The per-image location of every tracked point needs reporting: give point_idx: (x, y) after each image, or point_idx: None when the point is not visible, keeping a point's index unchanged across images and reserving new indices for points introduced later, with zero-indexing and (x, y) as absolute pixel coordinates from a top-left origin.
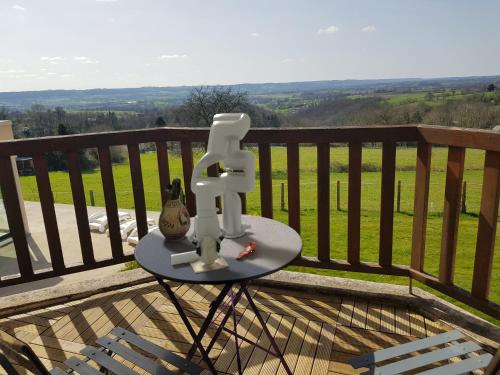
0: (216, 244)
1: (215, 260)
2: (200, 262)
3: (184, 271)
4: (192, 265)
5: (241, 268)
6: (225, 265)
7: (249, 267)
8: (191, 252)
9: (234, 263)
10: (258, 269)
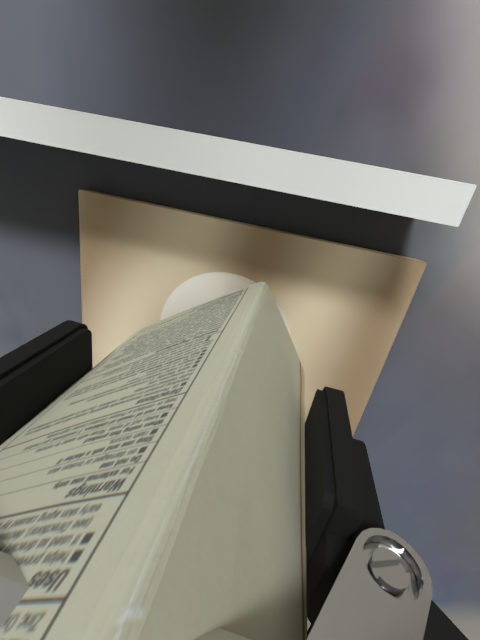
0: (300, 527)
1: (306, 320)
2: (168, 269)
3: (27, 306)
4: (88, 280)
5: (396, 516)
6: None
7: (453, 540)
8: (49, 145)
9: (418, 437)
10: (475, 587)
